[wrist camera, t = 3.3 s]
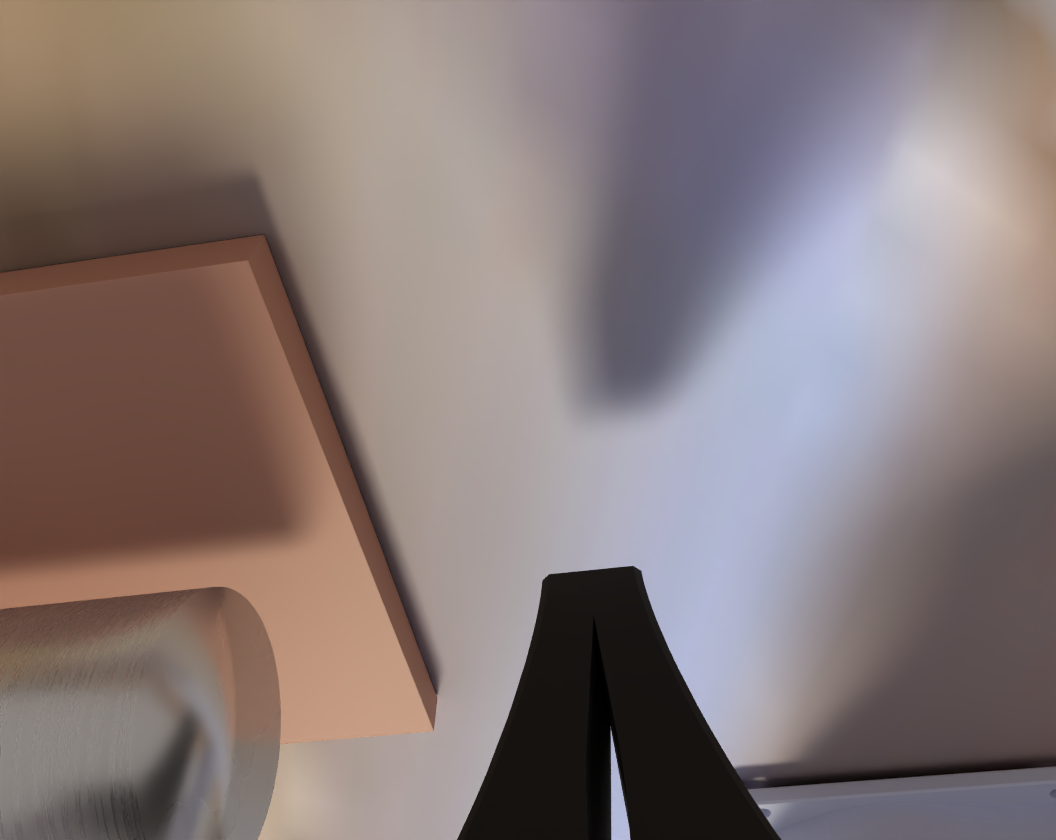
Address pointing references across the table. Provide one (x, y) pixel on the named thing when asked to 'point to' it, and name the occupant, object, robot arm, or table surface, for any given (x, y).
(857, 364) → the table surface
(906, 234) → the table surface
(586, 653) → the robot arm
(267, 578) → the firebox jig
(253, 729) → the tube
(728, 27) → the table surface
